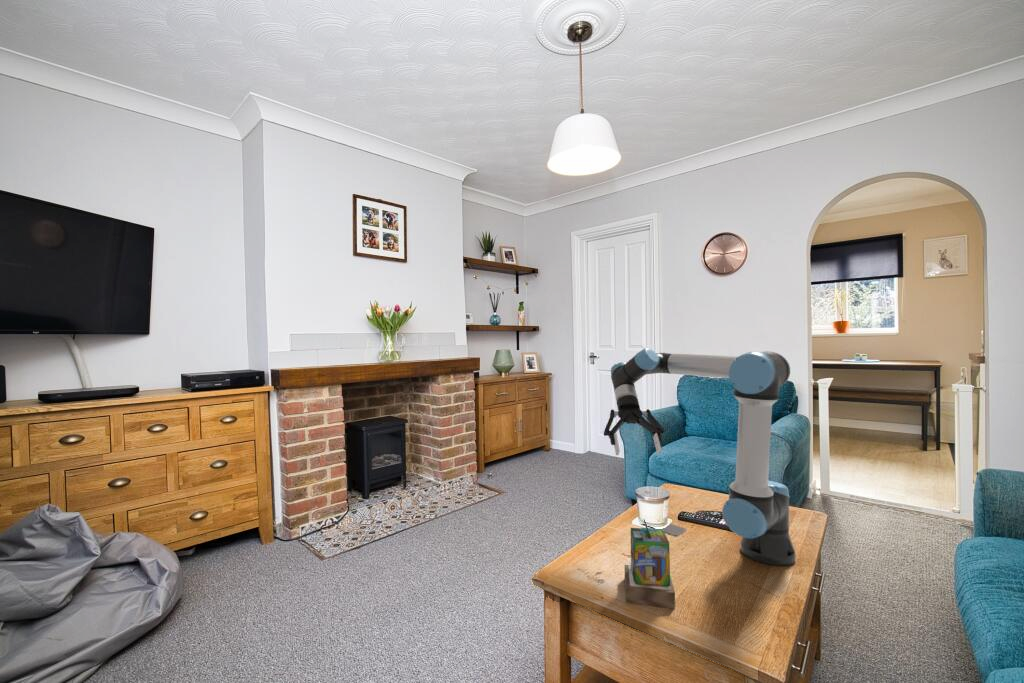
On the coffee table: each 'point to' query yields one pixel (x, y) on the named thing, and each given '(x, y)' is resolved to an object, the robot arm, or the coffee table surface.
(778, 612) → the coffee table surface
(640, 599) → the base brick
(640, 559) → the chalk box
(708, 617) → the coffee table surface
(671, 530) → the smartphone
